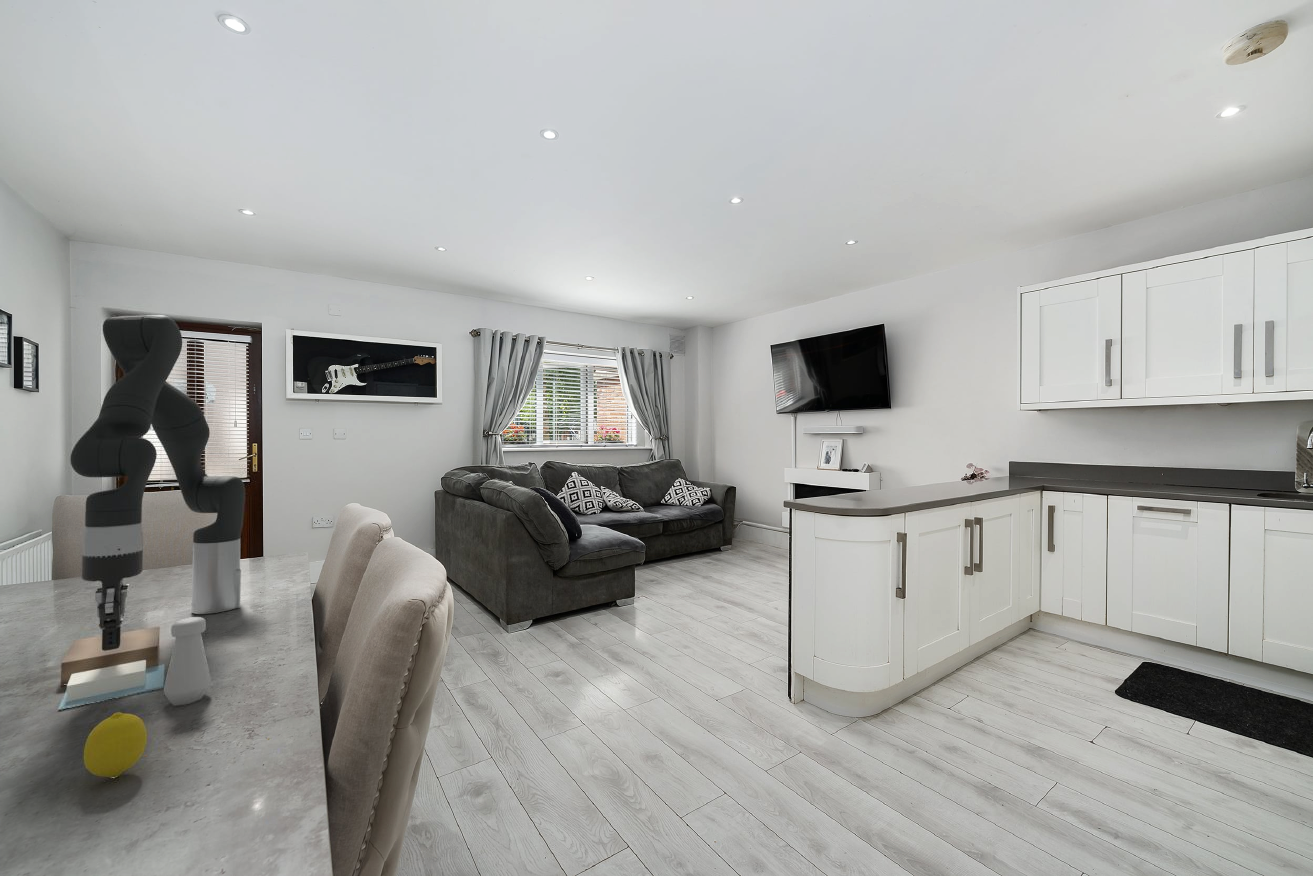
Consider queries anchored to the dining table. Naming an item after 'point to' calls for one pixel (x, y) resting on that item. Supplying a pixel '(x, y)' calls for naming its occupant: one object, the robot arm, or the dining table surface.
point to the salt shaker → (187, 663)
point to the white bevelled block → (106, 680)
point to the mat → (152, 682)
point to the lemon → (115, 745)
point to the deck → (111, 652)
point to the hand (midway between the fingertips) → (111, 648)
